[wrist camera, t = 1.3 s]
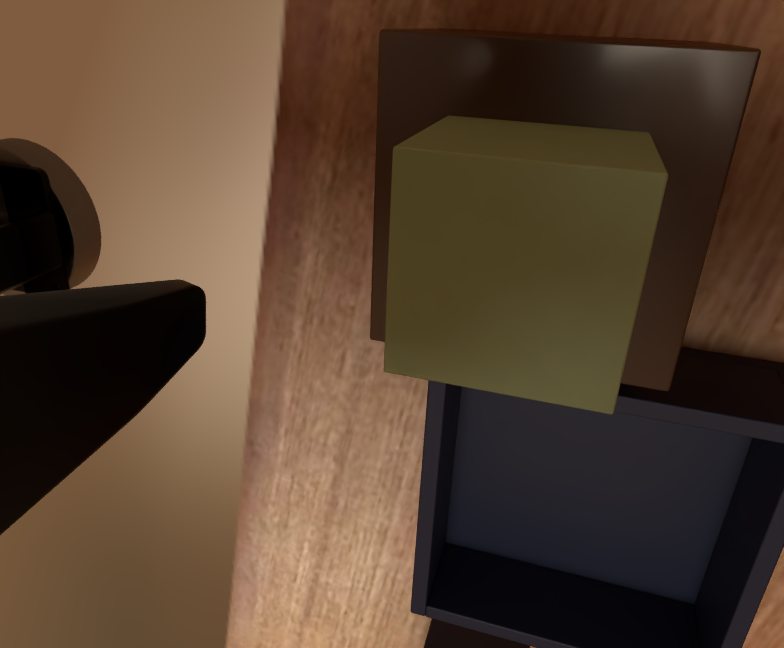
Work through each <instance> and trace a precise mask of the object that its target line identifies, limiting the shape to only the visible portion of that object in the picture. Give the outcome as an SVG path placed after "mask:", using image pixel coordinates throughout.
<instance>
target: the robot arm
mask: <svg viewBox="0 0 784 648" xmlns="http://www.w3.org/2000/svg"><path fill="white" fill-rule="evenodd" d="M36 177H37V178H38V181H37V179H36ZM58 287H59V288H60V289H59V288H58ZM9 290H15V291H21V292H26V293H27V294H16V295H5V296H0V535H1V534H2V533H3V532H4V531H5V530H7V529H8V528H9V527H10V526H11V525H12V524H13V523H15V522H16V521H17V520H18V519H19V518H20V517H21V516H23V515H24V514H25V513H26V512H27V511H28V510H29V509H30V508H32V507H33V506H34V505H35V504H36V503H37V502H38V501H40V500H41V499H42V498H43V497H44V496H45V495H46V494H48V493H49V492H50V491H51V490H52V489H53V488H54V487H56V486H57V485H58V484H59V483H60V482H61V481H62V480H64V479H65V478H66V477H67V476H68V475H69V474H70V473H72V472H73V471H74V470H75V469H76V468H77V467H78V466H80V465H81V464H82V463H83V462H84V461H85V460H86V459H87V458H89V456H91V455H92V454H93V453H94V452H95V451H97V450H98V449H99V448H100V447H101V446H102V445H103V444H104V443H106V442H107V441H108V440H109V439H110V438H111V437H113V436H114V435H115V434H116V433H117V432H118V431H119V430H120V429H122V428H123V427H124V426H125V425H126V424H127V423H128V422H129V421H131V420H132V419H133V418H134V417H135V416H136V415H137V414H138V413H139V412H140V411H141V410H142V409H143V408H144V407H145V406H146V405H147V404H148V403H149V402H150V401H151V400H152V399H153V398H154V397H155V396H156V394H157V393H158V392H159V391H160V390H161V389H162V388H163V387H164V386H165V385H166V384H167V383H168V382H169V380H170V379H171V378H172V377H173V376H174V375H175V374H176V373H177V372H178V371H179V370H180V369H181V368H182V366H183V365H184V364H185V363H186V362H187V361H188V360H189V359H190V358H191V357H192V356H193V355H194V354H195V353H196V352H197V350H198V349H199V348H200V347H201V345H202V344H203V341H204V339H205V335H206V296H205V293H204V291H203V290H202V289H201V288H200V287H198V286H196V285H193V284H191V283H189V282H186V281H183V280H167V281H156V282H146V283H135V284H124V285H113V286H103V287H92V288H81V289H70V286H69V280H68V275H67V270H66V265H65V259H64V254H63V249H62V244H61V239H60V233H59V228H58V223H57V218H56V212H55V207H54V202H53V197H52V191H51V186H50V181H49V177H48V175H47V173H46V172H45V171H44V170H43V169H42V168H39V167H32V166H24V165H16V164H8V163H0V294H3V293H5V292H7V291H9Z"/></svg>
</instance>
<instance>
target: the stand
mask: <svg viewBox="0 0 784 648" xmlns="http://www.w3.org/2000/svg"><path fill="white" fill-rule="evenodd" d="M760 54H761V51H760V50H759V49H756V48H749V47H742V46H735V45H728V44H721V43H713V42H694V41H674V40H655V39H635V38H615V37H595V36H576V35H556V34H536V33H517V32H497V31H477V30H458V29H382V30H380V34H379V66H378V98H377V130H376V163H375V195H374V227H373V260H372V292H371V324H370V338H371V339H372V340H377V341H383V342H385V327H386V303H387V280H388V256H389V232H390V209H391V185H392V162H393V148H394V147H395V146H396V145H398V144H400V143H402V142H403V141H405V140H407V139H409V138H410V137H412V136H414V135H415V134H417V133H419V132H421V131H422V130H424V129H426V128H428V127H429V126H431V125H433V124H435V123H436V122H438V121H440V120H442V119H443V118H445V117H447V116H461V117H473V118H485V119H496V120H508V121H520V122H532V123H544V124H556V125H568V126H580V127H591V128H603V129H615V130H627V131H639V132H648V133H650V135H651V137H652V140H653V142H654V144H655V146H656V149H657V151H658V153H659V155H660V158H661V160H662V162H663V164H664V167H665V169H666V171H667V173H668V179H667V184H666V188H665V193H664V197H663V201H662V206H661V210H660V214H659V219H658V223H657V227H656V232H655V236H654V240H653V245H652V249H651V253H650V258H649V262H648V266H647V271H646V275H645V279H644V284H643V288H642V292H641V297H640V301H639V305H638V310H637V314H636V318H635V323H634V327H633V331H632V336H631V340H630V344H629V349H628V353H627V357H626V362H625V366H624V370H623V375H622V379H621V383H622V384H627V385H633V386H639V387H644V388H650V389H656V390H661V391H669V390H670V386H671V383H672V379H673V375H674V372H675V368H676V364H677V361H678V357H679V353H680V349H681V346H682V342H683V338H684V335H685V331H686V327H687V324H688V320H689V316H690V313H691V309H692V305H693V301H694V298H695V294H696V290H697V287H698V283H699V279H700V276H701V272H702V268H703V265H704V261H705V257H706V253H707V250H708V246H709V242H710V239H711V235H712V231H713V228H714V224H715V220H716V217H717V213H718V209H719V205H720V202H721V198H722V194H723V191H724V187H725V183H726V180H727V176H728V172H729V169H730V165H731V161H732V157H733V154H734V150H735V146H736V143H737V139H738V135H739V132H740V128H741V124H742V121H743V117H744V113H745V109H746V106H747V102H748V98H749V95H750V91H751V87H752V84H753V80H754V76H755V73H756V69H757V65H758V61H759V58H760Z"/></svg>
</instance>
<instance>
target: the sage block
mask: <svg viewBox="0 0 784 648" xmlns="http://www.w3.org/2000/svg"><path fill="white" fill-rule="evenodd" d="M667 179H668V173H667V171H666V169H665V167H664V164H663V162H662V160H661V158H660V155H659V153H658V151H657V149H656V146H655V144H654V142H653V140H652V137H651V135H650V133H648V132H639V131H627V130H615V129H603V128H591V127H580V126H568V125H556V124H544V123H532V122H520V121H508V120H496V119H485V118H473V117H461V116H447V117H445V118H443V119H442V120H440V121H438V122H436V123H435V124H433V125H431V126H429V127H428V128H426V129H424V130H422V131H421V132H419V133H417V134H415V135H414V136H412V137H410V138H409V139H407V140H405V141H403V142H402V143H400V144H398V145H396V146H395V147H394V148H393V162H392V185H391V209H390V232H389V256H388V280H387V303H386V327H385V350H384V371H385V372H388V373H394V374H399V375H404V376H410V377H415V378H420V379H426V380H431V381H436V382H441V383H447V384H452V385H457V386H463V387H468V388H473V389H479V390H484V391H489V392H495V393H500V394H505V395H511V396H516V397H521V398H527V399H532V400H537V401H543V402H548V403H553V404H559V405H564V406H569V407H574V408H580V409H585V410H590V411H596V412H601V413H606V414H613V413H614V409H615V405H616V401H617V396H618V392H619V388H620V383H621V379H622V375H623V370H624V366H625V362H626V357H627V353H628V349H629V344H630V340H631V336H632V331H633V327H634V323H635V318H636V314H637V310H638V305H639V301H640V297H641V292H642V288H643V284H644V279H645V275H646V271H647V266H648V262H649V258H650V253H651V249H652V245H653V240H654V236H655V232H656V227H657V223H658V219H659V214H660V210H661V206H662V201H663V197H664V193H665V188H666V184H667Z"/></svg>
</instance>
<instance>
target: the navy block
mask: <svg viewBox="0 0 784 648" xmlns="http://www.w3.org/2000/svg"><path fill="white" fill-rule="evenodd" d="M424 648H530V646H529V645H526V644H522V643H519V642H515V641H511V640H508V639H504V638H501V637H497V636H494V635H490V634H486V633H483V632H479V631H476V630H472V629H469V628H465V627H462V626H458V625H454V624H451V623H447V622H444V621H440V620H437V619H433V618H432V621H431V624H430V628H429V631H428V634H427V638H426V641H425V645H424Z"/></svg>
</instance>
